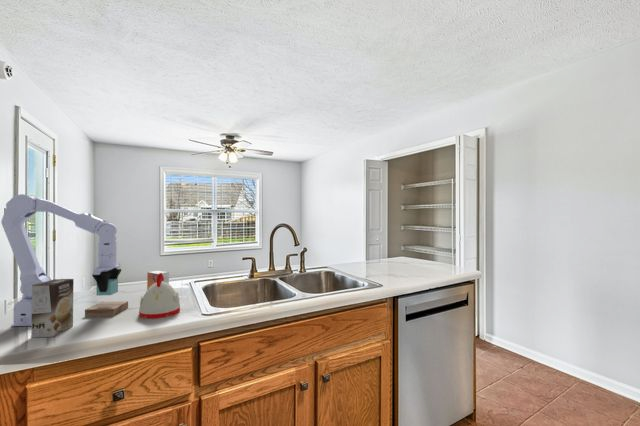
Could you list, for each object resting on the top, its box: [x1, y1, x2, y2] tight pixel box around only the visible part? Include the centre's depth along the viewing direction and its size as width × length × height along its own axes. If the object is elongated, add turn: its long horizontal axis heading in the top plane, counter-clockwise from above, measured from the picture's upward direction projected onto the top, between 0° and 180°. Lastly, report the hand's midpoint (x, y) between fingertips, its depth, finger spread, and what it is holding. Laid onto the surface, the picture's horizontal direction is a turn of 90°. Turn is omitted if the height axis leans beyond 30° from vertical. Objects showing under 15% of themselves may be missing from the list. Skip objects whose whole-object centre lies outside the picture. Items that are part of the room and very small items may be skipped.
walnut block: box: [84, 300, 129, 318], centre depth 119 cm, size 10×10×3 cm
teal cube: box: [95, 278, 119, 297], centre depth 119 cm, size 5×5×5 cm
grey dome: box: [138, 273, 181, 320], centre depth 119 cm, size 14×14×15 cm
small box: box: [146, 270, 170, 291], centre depth 143 cm, size 8×6×10 cm
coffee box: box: [30, 278, 74, 338], centre depth 99 cm, size 9×6×16 cm
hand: (107, 289), depth 119 cm, fingers closed on teal cube, 5 cm apart
